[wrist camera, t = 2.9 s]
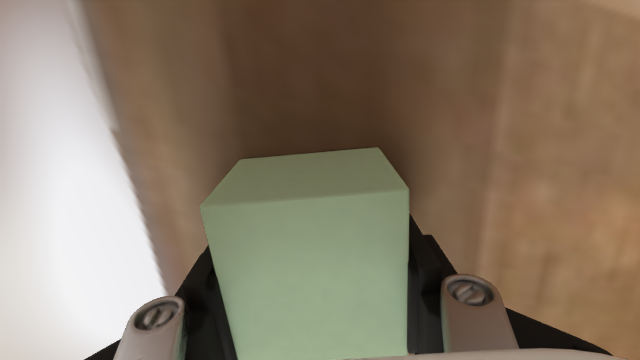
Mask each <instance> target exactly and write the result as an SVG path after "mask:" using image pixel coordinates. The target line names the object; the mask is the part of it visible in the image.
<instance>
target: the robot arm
mask: <svg viewBox="0 0 640 360" xmlns="http://www.w3.org/2000/svg"><path fill="white" fill-rule="evenodd" d="M407 350H408V352H409V353H415V355H401V356H385V357H369V358H353V359H338V360H627V359H623V358H619V357H614V356H613V355H612V354H610V353H609V352H607V351H606V350H604V349H602V348H600V347H598V346H596V345H594V344H592V343H589V342H587V341H584V340H582V339H580V338H577V337H575V336H572V335H570V334H568V333H565V332H563V331H560V330H558V329H556V328H553V327H551V326H549V325H546V324H544V323H541V322H539V321H537V320H534V319H532V318H529V317H527V316H525V315H522V314H520V313H517V312H515V311H513V310H510V309H508V308H505V307H504V304H503V301H502V298H501V296H500V293H499V292H498V290H497V288H496V287H495V286H493V285H492V284H491V283H490V282H488V281H486V280H485V279H483V278H480V277H477V276H474V275H469V274H457V272H456V271H455V269H454V268H453V266H452V265H451V263H450V262H449V260H448V259H447V257H446V256H445V254H444V253H443V251H442V250H441V248H440V247H439V245H438V244H437V242H436V241H435V239H434V238H433V236H432V235H423V234H422V233H421V231H420V229H419V228H418V226H417V225H416V223H415V221H414V220H413V218H412V216H411V215H410V213H409V261H408V293H407ZM85 360H238V359H237V355H236V351H235V347H234V343H233V339H232V335H231V331H230V326H229V322H228V318H227V314H226V310H225V306H224V302H223V298H222V294H221V290H220V286H219V282H218V278H217V276H216V272H215V268H214V264H213V260H212V256H211V252H210V248H209V244H208V246H207V248H206V249H205V251H204V252H203V253H202V254H201V255H200V256H199V258H198V260H197V261H196V263H195V264H194V266H193V267H192V269H191V271H190V272H189V274H188V275H187V277H186V278H185V280H184V282H183V283H182V285H181V286H180V288H179V290H178V291H177V293H176V294H175V296H165V297H160V298H157V299H154V300H152V301H150V302H148V303H146V304H144V305H143V306H142V307H140V308H139V309H138V310H137V311H136V312H135V313H134V314H133V315H132V316H131V318H130V320H129V321H128V323H127V326H126V328H125V331H124V333H123V336H122V338H121V339H120V340H118V341H116V342H115V343H113V344H111V345H109V346H108V347H106V348H104V349H102V350H100V351H99V352H97V353H95V354H93V355H92V356H90V357H88V358H86V359H85Z"/></svg>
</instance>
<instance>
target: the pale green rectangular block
mask: <svg viewBox="0 0 640 360" xmlns="http://www.w3.org/2000/svg"><path fill="white" fill-rule="evenodd" d="M200 212H201V216H202V220H203V224H204V228H205V232H206V236H207V240H208V244H209V248H210V252H211V256H212V260H213V264H214V268H215V272H216V276H217V278H218V282H219V286H220V290H221V294H222V298H223V302H224V306H225V310H226V314H227V318H228V322H229V326H230V331H231V335H232V339H233V343H234V347H235V351H236V355H237V359H238V360H338V359H353V358H369V357H385V356H401V355H408V350H407V293H408V261H409V188H408V187H407V185H406V184H405V183H404V181H403V180H402V179H401V177H400V176H399V175H398V173H397V172H396V170H395V169H394V168H393V166H392V165H391V164H390V162H389V161H388V160H387V158H386V157H385V156H384V154H383V153H382V151H381V150H380V149H379V148H378V147H374V148H363V149H352V150H341V151H329V152H318V153H307V154H295V155H284V156H273V157H262V158H250V159H240V160H239V161H238V162H237V163H236V165H235V166H234V167H233V168H232V169H231V170H230V172H229V173H228V174H227V175H226V176H225V177H224V178H223V180H222V181H221V182H220V183H219V184H218V185H217V187H216V188H215V189H214V190H213V191H212V192H211V193H210V195H209V196H208V197H207V198H206V199H205V200H204V202H203V203H202V204H201V205H200Z"/></svg>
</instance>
